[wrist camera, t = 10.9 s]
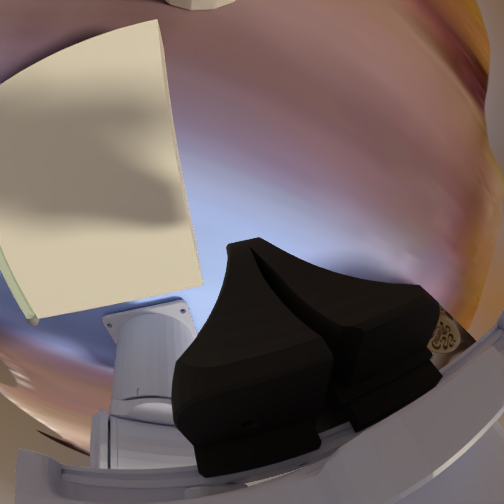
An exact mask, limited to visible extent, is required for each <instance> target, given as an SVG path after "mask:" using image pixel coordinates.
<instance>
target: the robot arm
mask: <svg viewBox="0 0 504 504" xmlns="http://www.w3.org/2000/svg"><path fill="white" fill-rule="evenodd" d="M226 249H227V255H228V261H227V268H226V273H225V277H224V281H223V285H222V288H221V291H220V294H219V296H218V299H217V301H216V304H215V306H214V308H213V310H212V312H211V314H210V316H209V318H208V319H207V321H206V323H205V324H204V326H203V327H202V329H201V330H200V332H199V333H198V334H197V331H196V329H195V326H194V323H193V320H192V317H191V314H190V311H189V308H188V305H187V302H186V301H184V300H177V301H172V302H167V303H162V304H158V305H153V306H148V307H143V308H138V309H133V310H128V311H123V312H118V313H113V314H108V315H104V316H103V319H102V322H103V324H104V325H105V327H106V329H107V331H108V332H109V334H110V336H111V337H112V339H113V341H114V342H115V344H116V345H117V348H116V356H115V364H114V373H113V383H112V395H111V405H110V411H109V416H108V412H106V411H103V410H100V411H99V414H98V413H97V414H95V415H94V416H93V417H92V425H91V439H90V467H80V466H71V465H64V464H61V463H60V462H58V461H57V460H55V459H54V458H52V457H50V456H48V455H45V454H43V453H39V452H34V451H30V450H25V449H21V448H20V449H18V455H17V464H16V477H15V504H504V430H503V428H502V427H501V426H500V424H499V423H498V422H497V419H498V418H499V417H500V416H501V414H502V413H503V412H504V309H503V311H502V313H501V314H500V316H499V318H498V320H497V323H496V324H495V325H494V326H493V327H492V328H491V329H490V330H489V331H488V332H487V333H486V334H484V335H483V336H482V337H481V338H480V339H479V340H478V341H476V342H475V343H474V344H473V345H471V346H470V347H469V348H468V349H467V350H465V351H464V352H463V353H462V354H460V355H459V356H458V357H456V358H455V359H454V360H452V361H451V362H450V363H448V364H447V365H446V366H444V367H443V368H441V369H440V370H438V369H437V368H436V367H435V365H434V364H433V363H432V362H431V360H430V359H431V358H432V356H433V355H432V352H431V351H430V350H429V349H428V347H427V345H428V343H429V341H430V339H431V337H432V335H433V332H434V330H435V328H436V326H437V323H438V320H439V316H440V306H439V303H438V302H437V301H436V300H435V299H434V298H433V297H432V296H431V295H430V294H429V293H428V292H427V291H425V290H424V289H423V288H422V287H421V286H420V285H410V284H393V283H384V282H377V281H370V280H365V279H360V278H355V277H351V276H347V275H343V274H339V273H336V272H333V271H330V270H327V269H324V268H321V267H318V266H315V265H313V264H311V263H308V262H306V261H304V260H301V259H299V258H297V257H295V256H293V255H291V254H289V253H287V252H285V251H283V250H282V249H280V248H278V247H276V246H274V245H272V244H271V243H269V242H267V241H265V240H264V239H262V238H259V237H258V238H253V239H249V240H244V241H239V242H235V243H230V244H228V245H227V247H226ZM181 309H185V310H184V311H182V310H181ZM109 324H111V325H109ZM308 465H309V466H308ZM305 466H307V467H305ZM302 467H304V468H302ZM299 468H302V469H299ZM296 469H299V470H297V471H294V472H292V473H289V474H286V475H283V476H281V477H278V478H275V479H272V480H269V481H265V482H262V483H259V484H256V485H252V486H249V487H248V486H247V485H246V484H244V483H249V482H253V481H257V480H261V479H265V478H269V477H273V476H277V475H280V474H284V473H287V472H290V471H293V470H296Z"/></svg>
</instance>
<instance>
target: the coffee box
mask: <svg viewBox="0 0 504 504" xmlns="http://www.w3.org/2000/svg"><path fill="white" fill-rule="evenodd" d="M439 306H440V305H439ZM475 342H476V340H475V339H474V338H473V337H472V336H471V335H470V334H469V333H468V332H467V331H466V330H465V329H464V328H463V327H462V326H461V325H460V324H459V323H458V322H457V321H456V320H455V319H454V318H453V317H452V316H451V315H450V314H449V313H448V312H447V311H446V310H445V309H444V308H443V307H442V306H440V316H439V320H438V323H437V326H436V328H435V330H434V332H433V335H432V337H431V339H430V341H429V343H428V345H427V347H428V349H429V350H430V351H431V352H432V355H433V356H432V358H431V359H430V360H431V362H432V363H433V364H434V365H435V367H436V368H437V369H438V370H440V369H441V368H443V367H444V366H446V365H447V364H448V363H450V362H451V361H452V360H454V359H455V358H456V357H458V356H459V355H460V354H462V353H463V352H464V351H465V350H467V349H468V348H469V347H470V346H471V345H473V344H474V343H475Z"/></svg>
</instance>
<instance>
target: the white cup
mask: <svg viewBox="0 0 504 504" xmlns="http://www.w3.org/2000/svg"><path fill="white" fill-rule="evenodd" d="M165 1H166V2H167V3H169V4H170V5H173V6H177V7H180V8H184V9H188V10H210V9H216V8H219V7H221V6H224V5H227V4H230V3H233V2H235V1H236V0H165Z"/></svg>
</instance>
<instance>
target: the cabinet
mask: <svg viewBox="0 0 504 504" xmlns="http://www.w3.org/2000/svg"><path fill="white" fill-rule="evenodd" d="M0 246H1V249H2V251H3V253H4V255H5V258H6V260H7V262H8V264H9V266H10V268H11V271H12V273H13V275H14V277H15V279H16V281H17V282H18V284H19V286H20V288H21V290H22V292H23V294H24V295H25V297H26V299H27V301H28V302H29V304H30V306H31V308H32V309H33V311H34V313H35V314H36V316H37V317H38V319H39V318H45V317H51V316H56V315H61V314H67V313H72V312H77V311H82V310H88V309H93V308H98V307H103V306H108V305H113V304H118V303H123V302H128V301H132V300H137V299H142V298H147V297H152V296H156V295H161V294H166V293H170V292H175V291H179V290H184V289H189V288H193V287H198V286H202V285H204V284H203V279H202V273H201V268H200V262H199V256H198V250H197V244H196V238H195V234H194V229H193V224H192V220H191V215H190V210H189V205H188V200H187V195H186V190H185V185H184V180H183V175H182V169H181V164H180V158H179V153H178V147H177V141H176V135H175V129H174V122H173V116H172V109H171V102H170V95H169V88H168V80H167V72H166V64H165V55H164V47H163V43H162V38H161V34H160V29H159V24H158V19H156V20H152V21H147V22H143V23H139V24H135V25H131V26H127V27H124V28H120V29H117V30H114V31H110V32H107V33H104V34H101V35H98V36H96V37H93V38H90V39H87V40H85V41H82V42H80V43H77V44H75V45H72V46H70V47H68V48H66V49H63V50H61V51H59V52H57V53H55V54H53V55H50V56H48V57H46V58H44V59H43V60H41V61H39V62H37V63H35V64H33V65H31V66H30V67H28V68H26V69H24V70H23V71H21V72H19V73H18V74H16V75H14V76H13V77H11V78H10V79H8V80H6V81H5V82H3V83H2V84H0Z"/></svg>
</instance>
